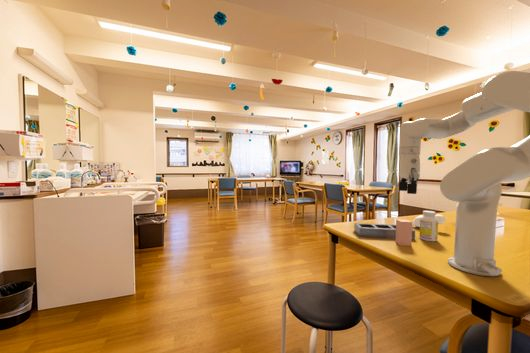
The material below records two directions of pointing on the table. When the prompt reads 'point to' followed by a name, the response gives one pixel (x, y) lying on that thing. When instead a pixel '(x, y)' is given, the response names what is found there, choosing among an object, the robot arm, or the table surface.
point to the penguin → (417, 220)
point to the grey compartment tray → (377, 230)
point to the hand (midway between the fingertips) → (407, 192)
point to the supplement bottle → (429, 226)
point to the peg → (403, 232)
